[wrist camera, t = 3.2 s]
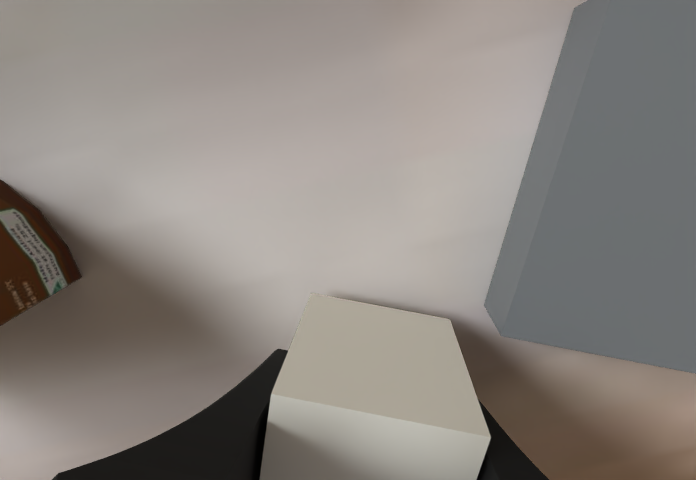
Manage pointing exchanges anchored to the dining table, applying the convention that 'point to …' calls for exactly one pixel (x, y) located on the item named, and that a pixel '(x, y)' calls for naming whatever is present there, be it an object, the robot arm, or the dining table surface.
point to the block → (373, 399)
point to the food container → (29, 256)
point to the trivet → (610, 193)
